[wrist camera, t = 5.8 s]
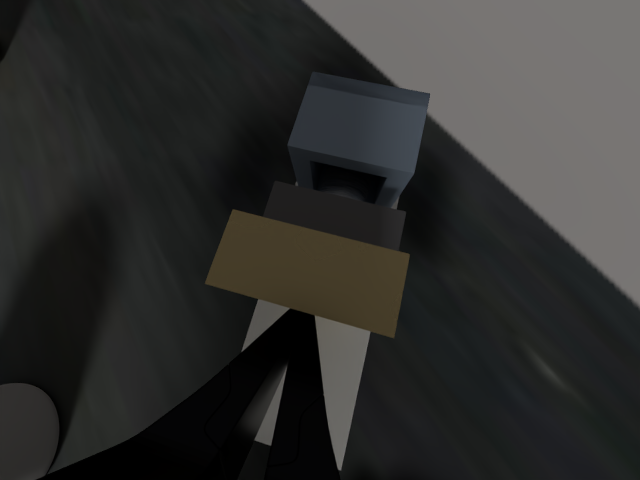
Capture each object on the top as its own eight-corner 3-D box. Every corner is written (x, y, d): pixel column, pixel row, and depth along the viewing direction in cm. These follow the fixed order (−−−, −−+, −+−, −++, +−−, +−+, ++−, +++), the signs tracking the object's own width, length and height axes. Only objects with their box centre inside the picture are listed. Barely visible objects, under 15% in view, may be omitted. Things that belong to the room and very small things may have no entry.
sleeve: (371, 280, 18) (394, 269, 12) (281, 256, 19) (256, 233, 12) (379, 242, 19) (406, 211, 12) (292, 220, 19) (275, 180, 13)
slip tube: (354, 315, 17) (394, 338, 7) (278, 293, 18) (204, 283, 7) (386, 173, 20) (453, 26, 9) (320, 158, 20) (310, 3, 10)
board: (340, 464, 16) (340, 470, 15) (221, 422, 17) (217, 427, 16) (404, 164, 21) (406, 160, 20) (310, 143, 22) (309, 139, 21)
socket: (385, 215, 19) (414, 173, 13) (300, 195, 20) (287, 145, 13) (398, 158, 20) (430, 93, 14) (317, 141, 21) (312, 71, 15)
